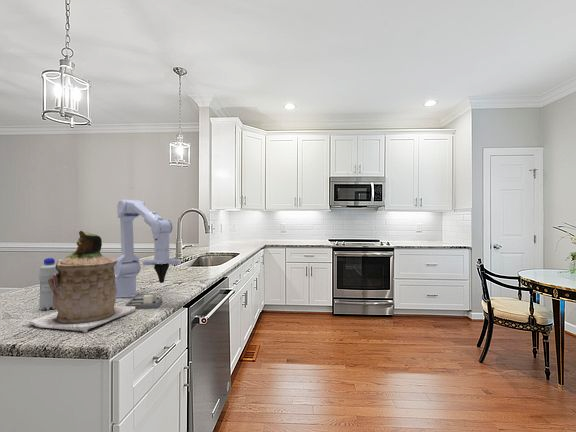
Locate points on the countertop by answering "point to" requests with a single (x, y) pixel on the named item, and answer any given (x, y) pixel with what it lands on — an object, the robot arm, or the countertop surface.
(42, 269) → the bottle
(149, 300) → the tab
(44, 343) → the countertop surface
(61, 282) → the cookie jar
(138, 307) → the tray
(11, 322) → the countertop surface
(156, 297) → the tab
